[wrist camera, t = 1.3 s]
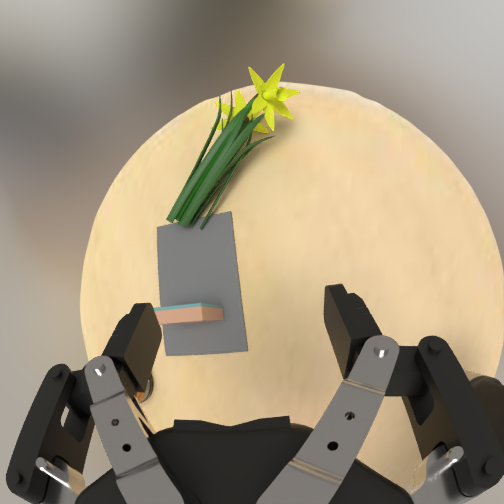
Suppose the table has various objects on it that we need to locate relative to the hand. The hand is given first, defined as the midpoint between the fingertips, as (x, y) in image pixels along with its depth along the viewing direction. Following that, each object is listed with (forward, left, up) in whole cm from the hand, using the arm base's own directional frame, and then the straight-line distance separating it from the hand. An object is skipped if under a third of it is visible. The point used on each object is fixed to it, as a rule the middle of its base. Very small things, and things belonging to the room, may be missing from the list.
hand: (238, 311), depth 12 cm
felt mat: (+7, +15, -36) cm, 40 cm away
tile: (+1, +15, -35) cm, 38 cm away
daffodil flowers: (+29, +5, -36) cm, 47 cm away
